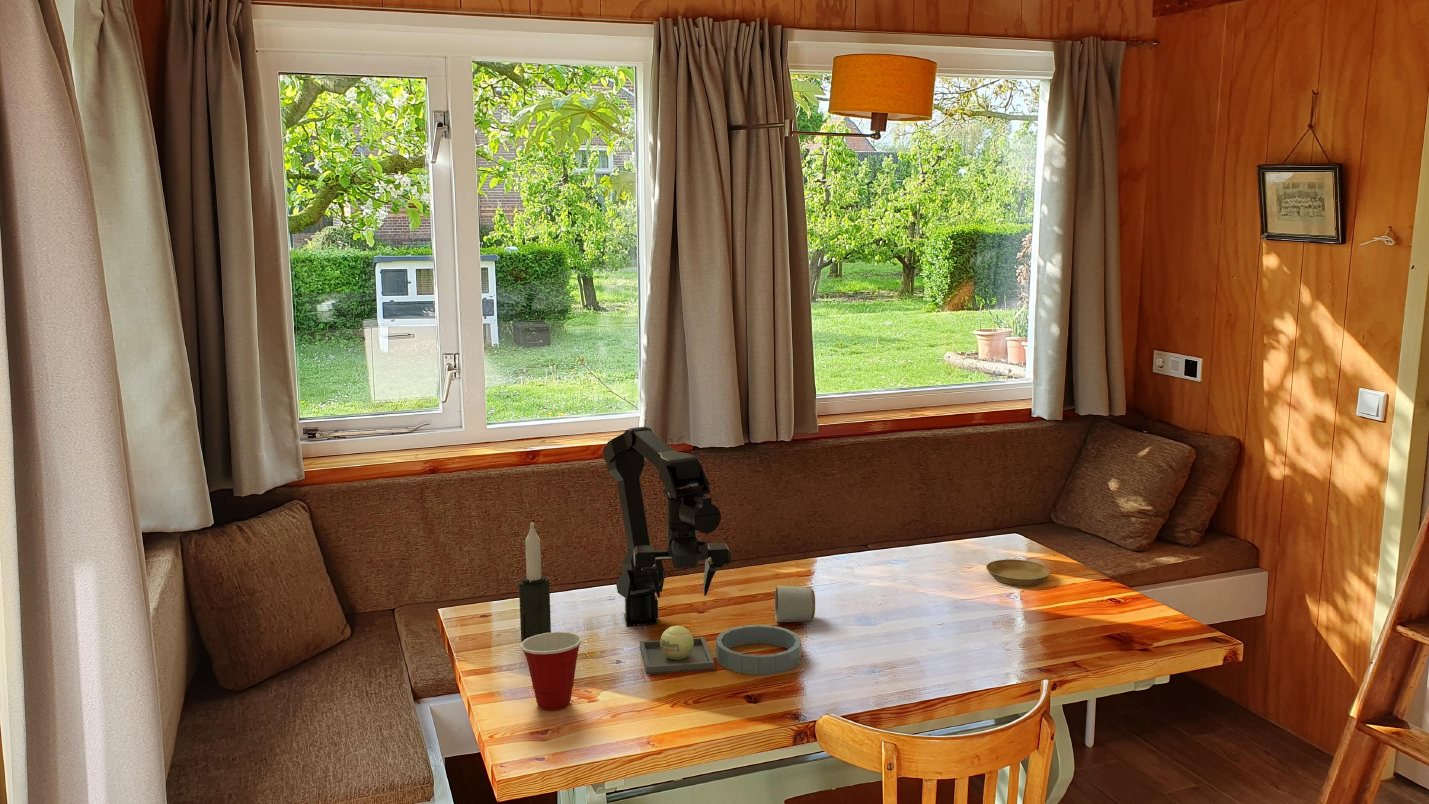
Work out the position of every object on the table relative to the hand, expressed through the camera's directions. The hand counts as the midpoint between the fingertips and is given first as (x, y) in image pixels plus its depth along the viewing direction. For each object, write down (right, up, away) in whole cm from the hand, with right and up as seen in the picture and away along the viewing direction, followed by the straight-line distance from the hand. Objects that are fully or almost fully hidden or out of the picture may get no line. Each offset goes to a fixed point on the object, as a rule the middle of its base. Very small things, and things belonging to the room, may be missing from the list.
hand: (681, 596), depth 217 cm
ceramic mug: (+23, -8, +18) cm, 31 cm away
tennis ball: (-1, -12, -3) cm, 12 cm away
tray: (-1, -12, -3) cm, 12 cm away
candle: (-30, -11, +6) cm, 32 cm away
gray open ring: (+15, -12, -3) cm, 19 cm away
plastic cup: (-22, -15, -22) cm, 35 cm away
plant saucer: (+79, -4, +43) cm, 90 cm away
